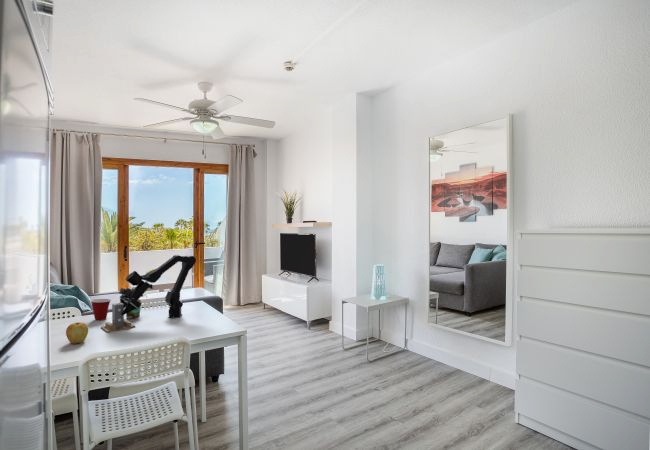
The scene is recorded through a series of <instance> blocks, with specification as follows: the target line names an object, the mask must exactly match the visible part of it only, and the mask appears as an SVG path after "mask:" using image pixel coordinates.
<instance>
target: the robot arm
mask: <svg viewBox="0 0 650 450" xmlns="http://www.w3.org/2000/svg"><path fill="white" fill-rule="evenodd" d="M196 262H197V259H196V256H194V255H185V256H183V255H182V256H181V255H177V254H174V255H173V256H171V258H169V259H167V260H166V261H165V262H164V263H162V264H161V265H160V266H158V267H156V268H154V269H153V270H150V271H148V272H146V273H145V274H144V275H140V273H138V271H136V270H134V271H132V272H131V273H129V274H128V275H127V276H126V277H125V281H126V282H128V283H129V284H130V285H131V286H134V288H132V289H131V288H129V287H127V288H123V287H121V288H120V290H119V292H118V294H120V295H119V303H123V304H124V310H123V312H122V313H121V315H124V316H126V313H128V312H130V311H132V310H135V309H137V308H139V307H140V308H141V306H142V304H141V303H142V302H141V303H140V302H139V301H138V299H139V300H140V299H141V297H142V298H143V297H144V294H145V293H146V292H147V291H148V289H150V290H153V289H154V288H153V284H155V283H156V282H157V281H158V280H160V278H161V277H162V275H163V274H164V273H166V272H167V271H168V270H170V269H171V268H172V267H173V266H175V265H177V263H181V268H180V271H179V274H178V276H177V279H176V280H175V283H174V285H173V288H172V289H171V290H170V291H167V292H166V296H165V297H164V298H165V300H164V301H165V303H166V304H167V305H168V318H170V319H171V318H172V319H173V318H181V316H182V315H183V313H182V308H183V305H184V304H183V302H182V301H181V300H180V299H181V290H182V288H183V285H184V283H185V280H186V279H187V276H188V274H189V272H190V270H191V269H193V267H194V266H195V264H196ZM151 283H152V284H151ZM136 307H137V308H136Z"/></svg>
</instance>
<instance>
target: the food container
mask: <svg viewBox="0 0 650 450" xmlns="http://www.w3.org/2000/svg"><path fill="white" fill-rule="evenodd" d="M138 301H139V302H140V303H141V305H142V303H143V302H142V300H141V299H140V298H139V299H138ZM136 308H137V307H136ZM140 314H141V306H140V307H139V308H137V309H135V310H132V311H130V312H128V313H126V314H125V316H126V320H134V319H135V320H136V319H138V318H140V317H141V315H140Z"/></svg>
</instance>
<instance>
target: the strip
mask: <svg viewBox="0 0 650 450" xmlns="http://www.w3.org/2000/svg"><path fill="white" fill-rule="evenodd" d="M111 309H112V311H111V314H112V317H111V319H112V322H111V323H112V324H114V325H115V328H118V327H123V326H124V319H125V315H121V313H122V312H123V310H124V309H125V308H124V304H123V303H120V302H118V303H112V304H111Z"/></svg>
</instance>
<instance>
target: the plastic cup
mask: <svg viewBox="0 0 650 450" xmlns="http://www.w3.org/2000/svg"><path fill="white" fill-rule="evenodd" d="M111 301H112V299H111V298H110V299H109V298H96V299H91V300H90V303H91V307H92V312H93V316H94V320H95V321H98V322H99V321H104V320H107V318H108V313H109V306H110V303H111Z"/></svg>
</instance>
